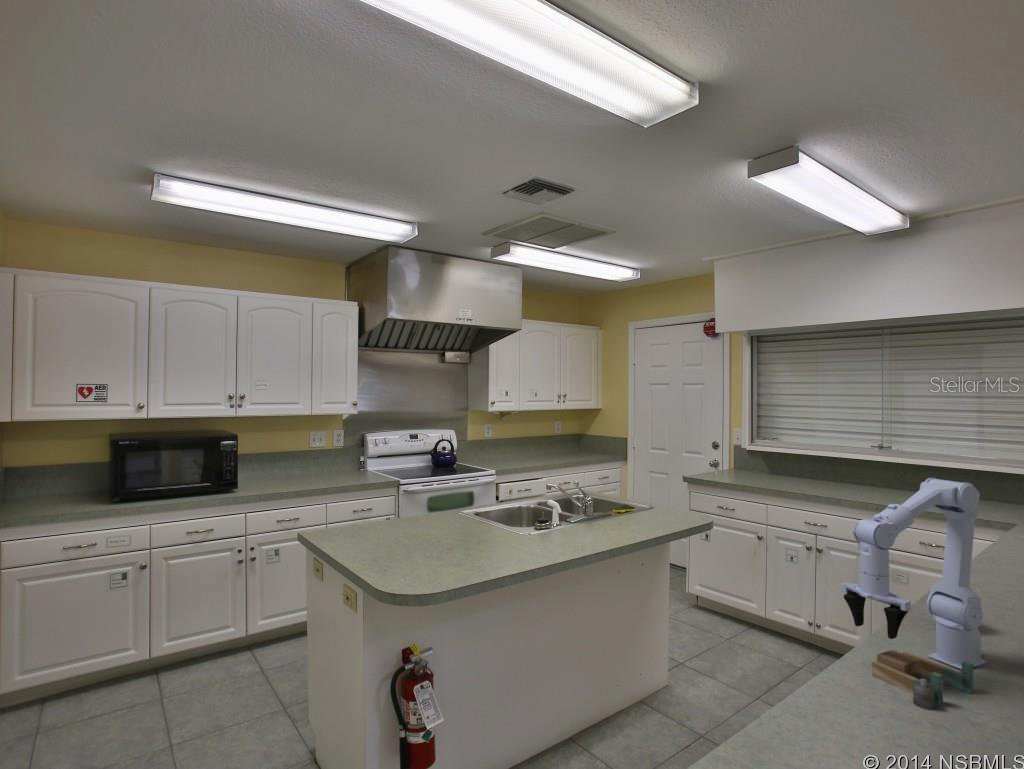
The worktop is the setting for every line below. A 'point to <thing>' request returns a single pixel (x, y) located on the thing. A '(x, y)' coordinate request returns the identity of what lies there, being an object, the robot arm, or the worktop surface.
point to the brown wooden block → (900, 662)
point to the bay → (921, 690)
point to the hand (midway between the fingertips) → (875, 631)
